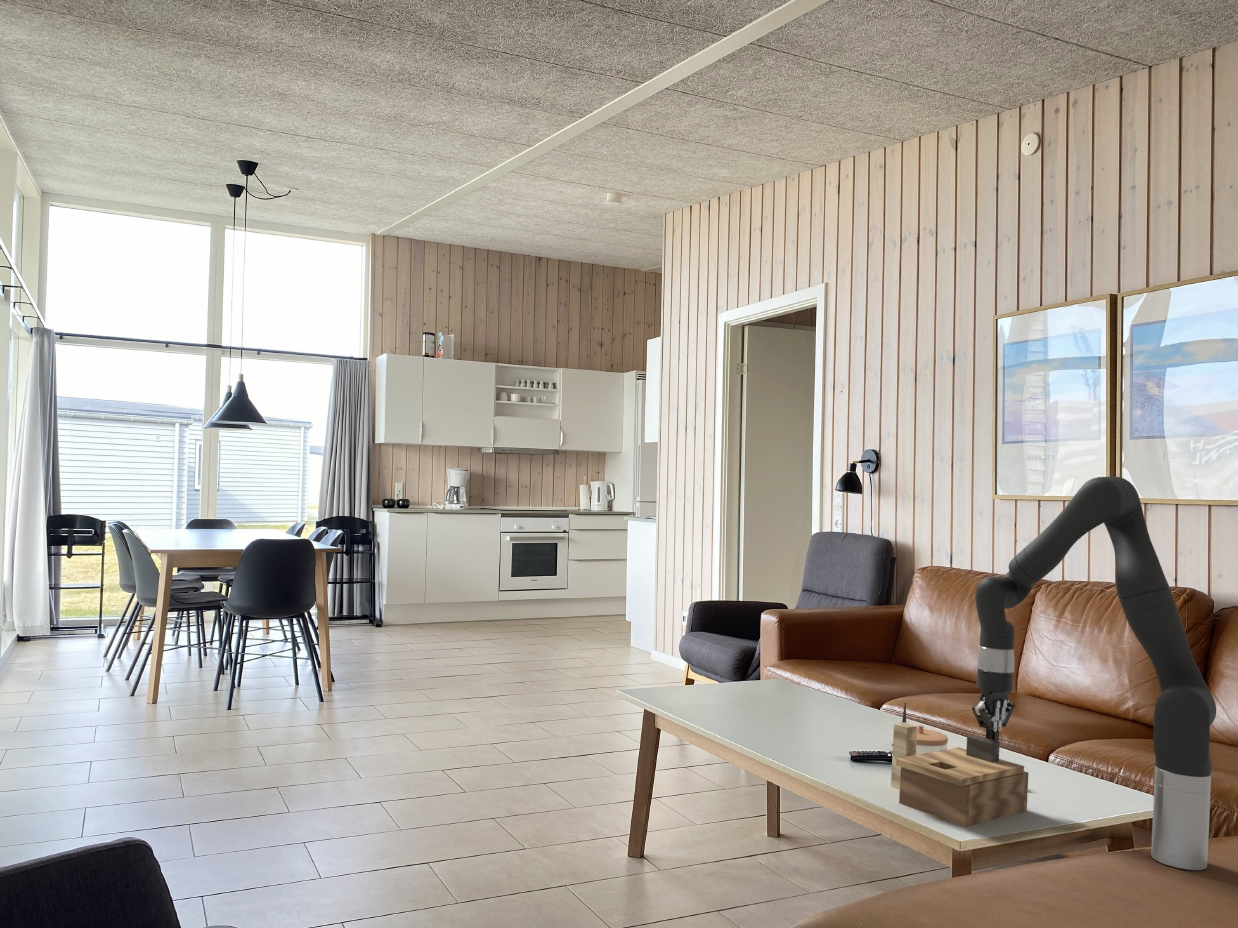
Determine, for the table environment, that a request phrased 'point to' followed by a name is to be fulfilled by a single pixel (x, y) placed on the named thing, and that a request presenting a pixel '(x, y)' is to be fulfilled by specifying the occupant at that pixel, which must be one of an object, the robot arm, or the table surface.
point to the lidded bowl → (930, 741)
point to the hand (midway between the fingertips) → (991, 747)
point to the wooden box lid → (963, 763)
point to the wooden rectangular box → (964, 797)
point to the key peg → (902, 748)
